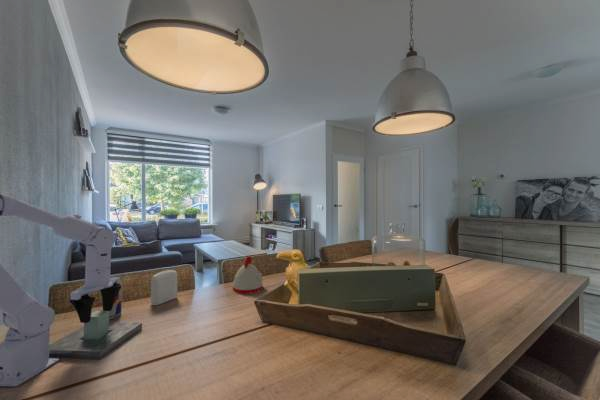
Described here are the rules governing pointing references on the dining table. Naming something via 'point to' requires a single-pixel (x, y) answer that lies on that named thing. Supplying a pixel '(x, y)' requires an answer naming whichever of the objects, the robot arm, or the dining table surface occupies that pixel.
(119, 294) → the energy drink
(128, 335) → the socket plate
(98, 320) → the green rectangular block
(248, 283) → the kitchen timer
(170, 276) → the photo printer
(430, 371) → the dining table surface
